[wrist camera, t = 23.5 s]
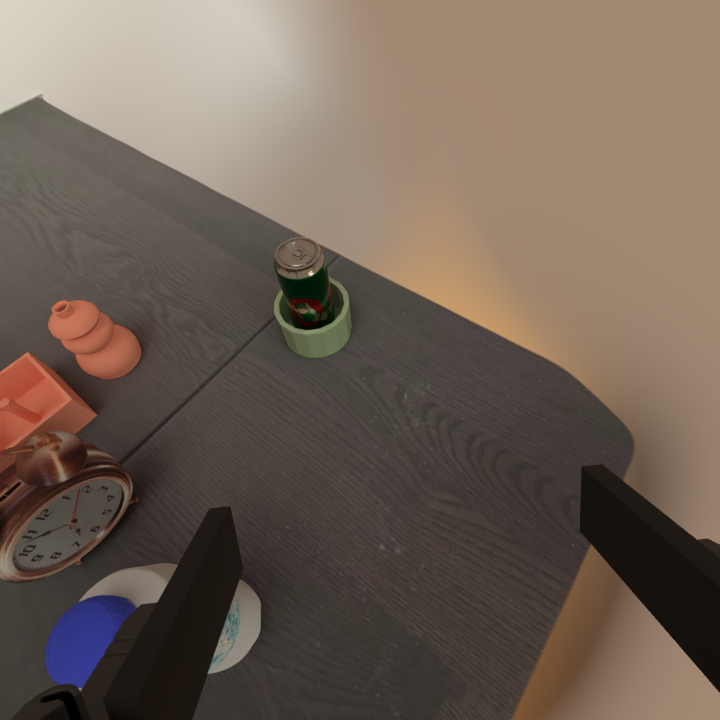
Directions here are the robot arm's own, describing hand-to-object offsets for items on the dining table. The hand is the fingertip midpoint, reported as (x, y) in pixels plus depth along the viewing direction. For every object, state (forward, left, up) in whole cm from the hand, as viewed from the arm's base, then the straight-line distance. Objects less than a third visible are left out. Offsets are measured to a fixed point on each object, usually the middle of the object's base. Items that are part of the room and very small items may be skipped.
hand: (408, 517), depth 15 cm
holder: (-6, -26, -24) cm, 36 cm away
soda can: (-6, -26, -23) cm, 36 cm away
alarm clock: (+22, -17, -24) cm, 37 cm away
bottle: (+14, -3, -24) cm, 28 cm away
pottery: (+22, -33, -24) cm, 47 cm away
